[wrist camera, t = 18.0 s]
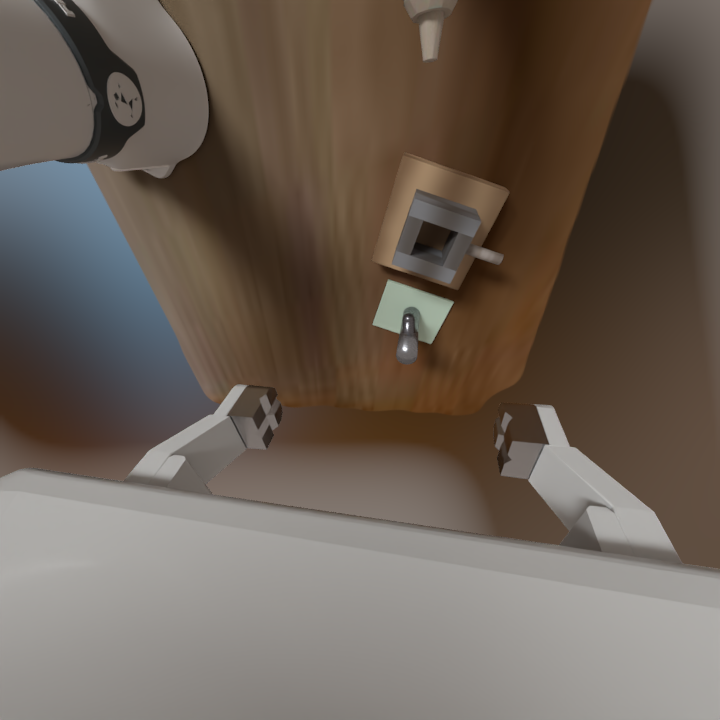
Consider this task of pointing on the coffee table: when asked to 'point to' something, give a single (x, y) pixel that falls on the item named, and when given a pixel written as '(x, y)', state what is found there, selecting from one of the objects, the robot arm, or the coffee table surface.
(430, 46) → the power drill
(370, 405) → the coffee table surface
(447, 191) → the block
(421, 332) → the mat
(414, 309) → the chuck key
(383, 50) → the coffee table surface
